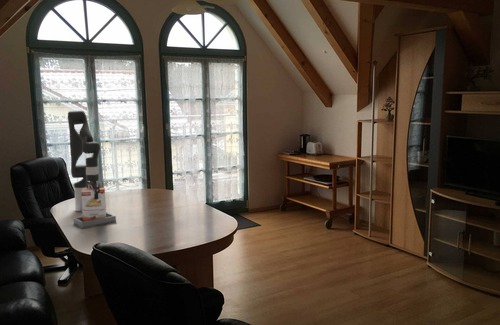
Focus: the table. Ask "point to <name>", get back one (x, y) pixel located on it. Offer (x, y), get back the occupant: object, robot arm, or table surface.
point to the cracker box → (93, 205)
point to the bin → (94, 221)
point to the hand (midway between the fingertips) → (93, 198)
